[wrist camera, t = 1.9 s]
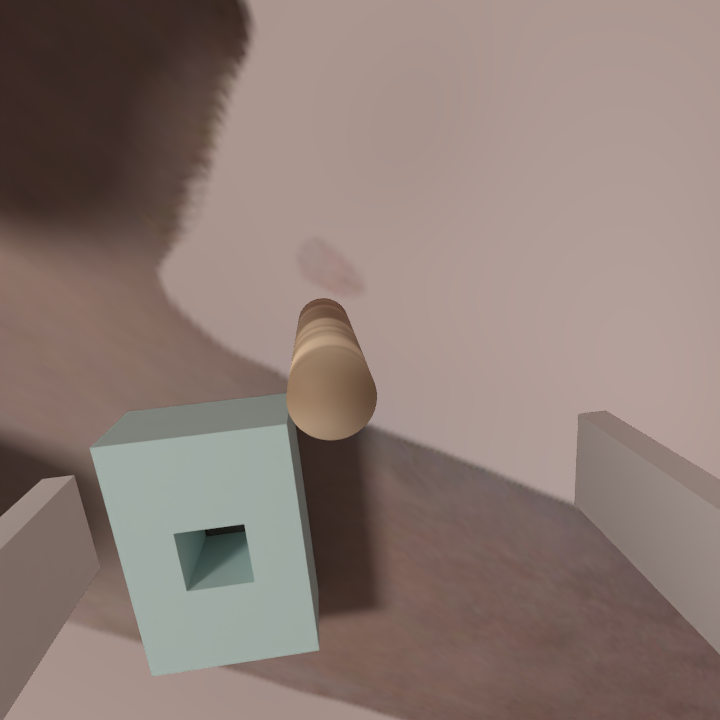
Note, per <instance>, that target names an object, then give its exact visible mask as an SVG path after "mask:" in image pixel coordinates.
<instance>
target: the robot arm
mask: <svg viewBox="0 0 720 720" xmlns="http://www.w3.org/2000/svg"><path fill="white" fill-rule="evenodd" d="M575 505H576V506H577V507H578V508H579V509H580V510H581V511H582V512H583V513H584V514H585V515H586V516H587V517H588V518H589V519H590V520H591V521H592V522H593V523H594V524H595V525H596V526H597V527H598V529H599V530H600V531H601V532H602V533H603V534H604V535H605V536H606V537H607V538H608V539H609V540H610V541H611V542H612V543H613V544H614V545H615V546H616V547H617V548H618V549H619V550H620V551H621V552H622V553H623V554H624V555H625V557H626V558H627V559H628V560H629V561H630V562H631V563H632V564H633V565H634V566H635V567H636V568H637V569H638V570H639V571H640V572H641V573H642V574H643V575H644V576H645V577H646V578H647V579H648V580H649V581H650V582H651V583H652V584H653V586H654V587H655V588H656V589H657V590H658V591H659V592H660V593H661V594H662V595H663V596H664V597H665V598H666V599H667V600H668V601H669V602H670V603H671V604H672V605H673V606H674V607H675V608H676V609H677V610H678V611H679V612H680V614H681V615H682V616H683V617H684V618H685V619H686V620H687V621H688V622H689V623H690V624H691V625H692V626H693V627H694V628H695V629H696V630H697V631H698V632H699V633H700V634H701V635H702V636H703V637H704V638H705V639H706V640H707V641H708V643H709V644H710V645H711V646H712V647H713V648H714V649H715V650H716V651H717V652H718V653H719V654H720V480H719V479H717V478H716V477H714V476H712V475H711V474H709V473H707V472H706V471H704V470H703V469H701V468H699V467H698V466H696V465H694V464H692V463H691V462H689V461H688V460H686V459H684V458H683V457H681V456H679V455H678V454H676V453H674V452H673V451H671V450H670V449H668V448H666V447H665V446H663V445H661V444H659V443H658V442H656V441H655V440H653V439H651V438H650V437H648V436H647V435H645V434H643V433H642V432H640V431H638V430H637V429H635V428H633V427H632V426H630V425H628V424H627V423H625V422H623V421H622V420H620V419H619V418H617V417H615V416H613V415H612V414H610V413H608V412H607V411H599V412H591V413H583V414H579V415H578V436H577V460H576V483H575ZM99 569H100V565H99V561H98V558H97V554H96V551H95V547H94V543H93V540H92V536H91V533H90V529H89V526H88V522H87V519H86V515H85V512H84V508H83V504H82V501H81V497H80V494H79V490H78V487H77V483H76V480H75V476H74V475H71V476H63V477H55V478H47V479H42V480H41V481H40V482H39V483H37V484H36V485H35V486H34V487H33V488H32V489H31V490H30V491H29V492H27V493H26V494H25V495H24V496H23V497H22V498H21V499H20V500H19V501H18V502H16V503H15V504H14V505H13V506H12V507H11V508H10V509H9V510H8V511H6V512H5V513H4V514H3V515H2V516H1V517H0V720H3V719H4V718H5V716H6V714H7V713H8V711H9V710H10V708H11V707H12V705H13V704H14V702H15V700H16V699H17V697H18V696H19V694H20V693H21V691H22V690H23V688H24V686H25V685H26V683H27V682H28V680H29V679H30V677H31V675H32V674H33V672H34V671H35V669H36V668H37V666H38V665H39V663H40V661H41V660H42V658H43V657H44V655H45V654H46V652H47V650H48V649H49V647H50V645H51V644H52V643H53V641H54V639H55V638H56V636H57V635H58V633H59V632H60V630H61V629H62V627H63V625H64V624H65V622H66V621H67V619H68V618H69V616H70V614H71V613H72V611H73V610H74V608H75V607H76V605H77V604H78V602H79V600H80V599H81V597H82V596H83V594H84V593H85V591H86V589H87V588H88V586H89V585H90V583H91V582H92V580H93V578H94V577H95V575H96V574H97V572H98V571H99Z"/></svg>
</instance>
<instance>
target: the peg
mask: <svg viewBox="0 0 720 720" xmlns="http://www.w3.org/2000/svg"><path fill="white" fill-rule="evenodd" d="M376 401H377V392H376V387H375V383H374V381H373V378H372V376H371V373H370V371H369V368H368V366H367V363H366V361H365V358H364V356H363V354H362V351H361V348H360V346H359V344H358V341H357V339H356V336H355V334H354V331H353V329H352V326H351V324H350V321H349V319H348V316H347V314H346V312H345V310H344V309H343V307H342V306H341V305H340V304H338V303H337V302H335V301H333V300H331V299H324V298H323V299H316V300H313V301H311V302H310V303H308V304H307V305H306V306H305V307H304V308H303V310H302V311H301V314H300V316H299V321H298V327H297V333H296V339H295V345H294V351H293V358H292V363H291V369H290V375H289V381H288V387H287V393H286V403H287V408H288V412H289V414H290V416H291V418H292V420H293V421H294V423H295V424H296V425H297V426H298V427H299V428H300V429H301V430H302V431H303V432H305V433H306V434H308V435H310V436H312V437H315V438H318V439H322V440H339V439H344V438H347V437H349V436H352V435H354V434H355V433H357V432H358V431H360V430H361V429H362V428H363V427H364V426H365V425H366V424H367V423H368V422H369V420H370V419H371V417H372V415H373V413H374V410H375V407H376Z"/></svg>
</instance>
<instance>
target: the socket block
mask: <svg viewBox="0 0 720 720" xmlns="http://www.w3.org/2000/svg"><path fill="white" fill-rule="evenodd" d="M90 451H91V455H92V458H93V462H94V466H95V469H96V473H97V477H98V480H99V484H100V488H101V491H102V495H103V499H104V502H105V506H106V510H107V513H108V517H109V521H110V524H111V528H112V532H113V535H114V539H115V543H116V546H117V550H118V554H119V557H120V561H121V565H122V568H123V572H124V576H125V579H126V583H127V587H128V590H129V594H130V598H131V601H132V605H133V609H134V612H135V616H136V620H137V623H138V627H139V631H140V634H141V638H142V642H143V645H144V649H145V652H146V656H147V660H148V663H149V667H150V671H151V674H152V676H157V675H164V674H170V673H177V672H183V671H190V670H196V669H202V668H209V667H215V666H222V665H228V664H235V663H241V662H247V661H254V660H260V659H267V658H273V657H280V656H286V655H292V654H299V653H305V652H312V651H318V650H319V594H318V583H317V576H316V569H315V561H314V554H313V547H312V540H311V533H310V525H309V518H308V511H307V504H306V496H305V489H304V482H303V475H302V467H301V460H300V453H299V446H298V439H297V431H296V424H295V423H294V421H293V420H292V418H291V416H290V414H289V412H288V408H287V403H286V393H283V394H275V395H266V396H258V397H249V398H241V399H232V400H224V401H215V402H207V403H198V404H190V405H181V406H172V407H164V408H155V409H147V410H138V411H130V412H127V413H126V414H125V415H124V416H123V417H121V418H120V419H119V420H118V421H117V422H116V423H115V424H114V425H113V426H112V427H111V428H110V429H109V430H108V431H107V432H106V433H105V434H104V435H103V436H102V437H101V438H100V439H99V440H98V441H97V442H96V443H94V444H93V445H92V446H91V447H90ZM242 524H244V526H245V531H243V532H235V533H228V534H221V535H213V536H206V533H205V529H212V528H220V527H227V526H235V525H242Z"/></svg>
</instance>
